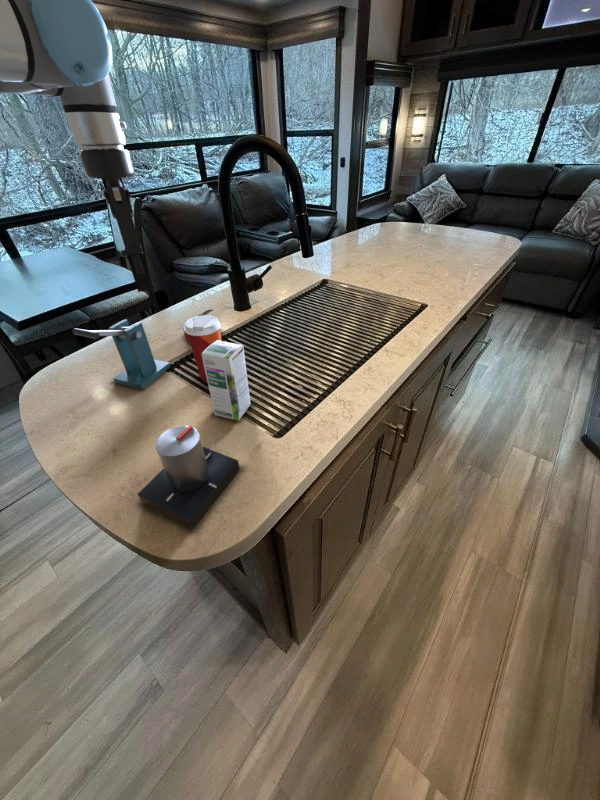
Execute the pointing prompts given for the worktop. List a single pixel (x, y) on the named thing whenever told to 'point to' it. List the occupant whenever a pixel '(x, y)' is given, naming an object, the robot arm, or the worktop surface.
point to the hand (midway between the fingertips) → (142, 279)
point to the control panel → (192, 503)
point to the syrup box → (227, 379)
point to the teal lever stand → (136, 357)
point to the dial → (183, 458)
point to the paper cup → (202, 337)
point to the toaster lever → (100, 333)
